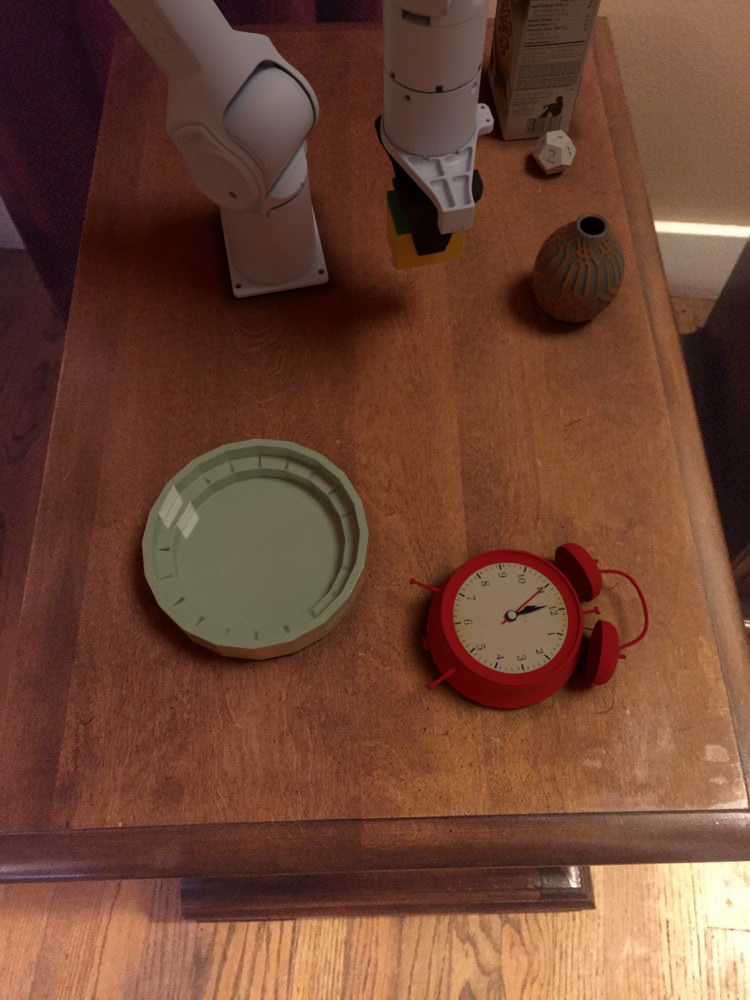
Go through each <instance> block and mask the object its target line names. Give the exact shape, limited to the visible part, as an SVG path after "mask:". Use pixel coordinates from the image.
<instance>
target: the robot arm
mask: <svg viewBox="0 0 750 1000" xmlns="http://www.w3.org/2000/svg"><path fill="white" fill-rule="evenodd" d="M108 2H109V3H110V4H111V6H112V7H113V8H114V10H115V11H116V13H117V14H118V15H119V17H120V18H121V19H122V20H123V22H124V23H125V24H126V26H127V27H128V28H129V30H130V32H132V34H133V36H134V37H135V38H136V39H137V41H138V42H139V43H140V45H141V46H142V47H143V49H144V50H145V51H146V52H147V54H148V55H149V56H150V58H151V59H152V60H153V62H154V63H155V64H156V66H157V67H158V69H159V70H160V71H161V73H162V74H163V75H164V76H165V78H166V80H167V95H166V110H165V111H166V113H165V133H166V136H168V138H169V139H170V140H171V141H172V143H173V144H174V145H175V147H176V148H177V150H178V151H179V153H180V155H181V157H182V159H183V161H184V164H185V168H186V169H187V172H188V174H189V176H190V177H191V180H192V182H193V183H194V184H195V186H196V188H197V189H199V191H200V192H201V193H202V194H203V195H204V196H205V197H206V198H207V199H209V200H210V201H211V202H213V203H214V204H216V205H218V207H219V210H220V219H221V226H222V231H223V238H224V244H225V250H226V257H227V262H228V269H229V275H230V281H231V286H232V287H231V288H232V293H233V296H234V297H235V298H237V299H242V298H247V297H253V296H261V295H266V294H271V293H278V292H283V291H288V290H289V291H290V290H295V289H301V288H307V287H311V286H312V287H313V286H318V285H324V284H326V283H327V282H328V281H329V274H328V268H327V264H326V260H325V256H324V252H323V246H322V243H321V238H320V234H319V230H318V229H319V228H318V224H317V221H316V216H315V212H314V208H313V204H312V203H313V202H312V196H311V195H312V193H311V187H310V186H311V185H310V178H309V170H308V161H307V156H306V155H307V152H308V143H307V142H308V141H307V136H309V134H311V133H312V131H313V130H314V129H315V128H316V126H317V125H318V122H319V118H320V105H319V101H318V97H317V95H316V93H315V91H314V89H313V88H312V86H311V84H310V83H309V81H308V80H307V79H306V78H305V76H304V75H302V73H301V72H300V71H298V69H296V68H295V67H294V66H292V65H291V64H290V63H289V62H288V61H286V59H285V58H283V56H282V55H281V54H280V53H279V51H278V50H277V48H276V47H275V45H274V44H273V42H272V40H271V39H270V37H269V36H267V35H265V34H262V33H255V32H247V31H240V30H235V29H233V27H231V25H230V24H229V22H228V20H227V19H226V17H225V15H224V14H223V13H222V12H221V10H220V9H219V7H218V6H217V3H216V2H215V1H214V0H108ZM489 7H490V0H382V78H383V82H382V83H383V106H382V113H381V114H380V115H378V116H377V117H376V119H375V120H374V128H375V132H376V135H377V139H378V142H379V144H380V145H381V146H382V148H383V149H384V151H385V153H386V155H387V156H388V158H389V160H390V162H391V165H392V168H393V174H394V177H392V178H391V185H392V188H393V190H394V191H395V194H396V197H397V200H398V203H399V205H400V207H401V209H402V211H403V212H404V213H405V214H406V215H407V217H408V218H409V222H410V228H411V235H412V239H413V243H414V246H415V249H416V252H417V254H418V255H419V256H423V255H428V254H434V253H439V252H444V251H445V249H446V247H447V245H448V243H449V241H450V239H451V237H452V235H453V233H454V232H459V231H462V230H465V231H468V230H472V229H473V225H474V219H475V212H476V211H475V210H476V204H477V203H478V202H479V201H480V200H482V196H483V194H484V193H483V192H484V182H483V179H482V176H481V174H480V172H479V169H478V168H474V167H475V160H476V159H475V158H476V151H477V150H476V149H477V142H478V138H479V137H480V136H483V135H488V134H491V132H493V130H494V123H495V121H494V120H495V119H494V117H493V115H492V112H491V109H490V107H489V106H488V105H487V104H485V103H483V102H482V103H481V102H480V103H479V94H480V85H481V75H482V67H483V60H484V52H485V42H486V34H487V26H488V25H487V22H488V16H489Z"/></svg>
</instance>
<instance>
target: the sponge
mask: <svg viewBox="0 0 750 1000" xmlns="http://www.w3.org/2000/svg"><path fill="white" fill-rule="evenodd" d="M465 237H466V230H462V231H459V232H454V233H453V235H452V237H451V239H450V241H449V243H448V245H447V247H446V249H445V251H444V252H439V253H434V254H428V255H423V256H419V255H418V254H417V252H416V249H415V246H414V243H413V239H412V235H411V228H410V222H409V218H408V217H407V215H406V214H405V213H404V212H403V211H402V209H401V207H400V205H399V203H398V200H397V197H396V194H395V191H394V189H393V190H387V191H386V238H387V241H388V245H389V248H390V251H391V255H392V258H393V261H394V265H395V269H396V271H402V270H408V269H412V268H417V267H418V268H419V267H424V266H429V265H435V264H439V263H445V262H446V263H447V262H451V261H456V260H462V259H463V256H464V249H465V248H464V247H465Z"/></svg>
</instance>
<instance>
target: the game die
mask: <svg viewBox="0 0 750 1000" xmlns="http://www.w3.org/2000/svg"><path fill="white" fill-rule="evenodd" d="M536 141H537V142H536V144H535V146H534V150H533V153H532V156H533V158H534V160H535V161H536V163H537V165H538V166H539V167H540V168H541V170H542V171H543V172H544V173H545V174H546V175H552V174H558V173H563V172H564V171H566V170H567V169H568V168H570V167H571V165H572V163H573V161H574V157H575V156H576V152H577V149H576V147H575V145H574V143H573V141H572V139H571V138H570V137H569V136H568V134H567V135H566V134H565V133H564V132H563V131H562V130H558V131H552V132H547V133H546V134H544V135H543V136H542V137H538V138H537V140H536Z"/></svg>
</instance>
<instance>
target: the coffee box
mask: <svg viewBox="0 0 750 1000" xmlns="http://www.w3.org/2000/svg"><path fill="white" fill-rule="evenodd" d="M601 2H602V0H496V7H495V15H494V22H493V30H492V31H493V32H492V40H491V49H490V57H489V66H488V75H487V77H488V81H489V85H490V88H491V93H492V97H493V101H494V105H495V111H496V113H497V119H498V122H499V127H500V131H501V135H502V139H503V141H512V140H513V141H514V140H524V139H539V138H541V137H542V136H543V135H544V134H546V133H547V132H552V131H558V130H562V131H563V132H564V133H565V134H566V135H567V136H568V134H569V132H570V131H569V130H570V126H571V122H572V118H573V115H574V110H575V106H576V102H577V98H578V94H579V90H580V86H581V82H582V78H583V74H584V71H585V66H586V63H587V59H588V56H589V55H588V54H589V51H590V47H591V43H592V38H593V36H594V35H593V34H594V30H595V27H596V23H597V19H598V15H599V11H600V7H601Z"/></svg>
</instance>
